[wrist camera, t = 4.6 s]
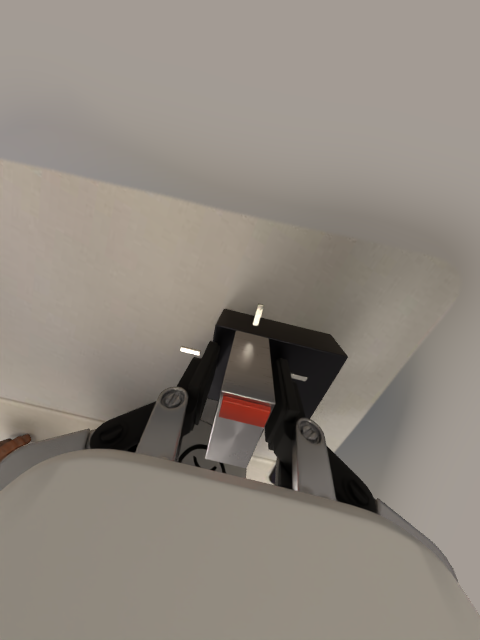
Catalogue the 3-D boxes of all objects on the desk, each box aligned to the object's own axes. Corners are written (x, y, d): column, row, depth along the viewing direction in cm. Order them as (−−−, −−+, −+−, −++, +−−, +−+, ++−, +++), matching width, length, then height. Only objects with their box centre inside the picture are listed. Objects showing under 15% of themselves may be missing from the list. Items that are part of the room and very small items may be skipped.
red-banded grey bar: (250, 391, 13) (245, 474, 8) (223, 384, 13) (202, 464, 8) (268, 338, 11) (276, 409, 6) (236, 330, 11) (219, 395, 6)
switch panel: (190, 368, 17) (177, 394, 14) (202, 276, 13) (185, 286, 10) (299, 394, 17) (307, 425, 14) (343, 311, 13) (367, 330, 10)
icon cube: (146, 445, 24) (77, 572, 14) (176, 407, 20) (106, 549, 11) (208, 474, 25) (180, 605, 16) (247, 444, 21) (239, 596, 12)
